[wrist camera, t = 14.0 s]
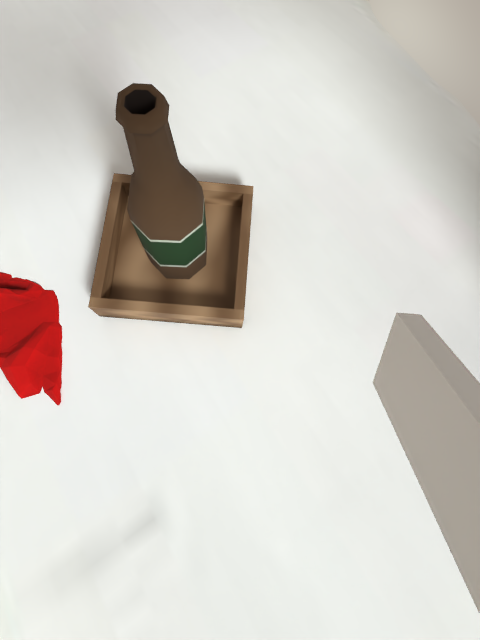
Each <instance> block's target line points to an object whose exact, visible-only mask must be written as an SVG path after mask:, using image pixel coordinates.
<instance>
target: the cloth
mask: <svg viewBox="0 0 480 640" xmlns="http://www.w3.org/2000/svg"><path fill="white" fill-rule="evenodd" d="M61 343H62V326H61V325H60V324H59V304H58V299H57V296H56V294H55V292H54V291H53V290H44V289H43V288H42V287H41V286H40V285H39V284H36V283H34V282H32V281H29V280H27V279H26V280H24V279H21V278H17V277H16V278H12V276H11V275H10V274H6V273H2V272H0V368H1V369H2V371H3V373H4V375H5V376H6V378H7V380H8V381H9V383H10V384H11V386H12V387H13V389H14V390H15V391H16V393H17V394H18V396H19V397H21V398H25V397H29V396H32V395H35V394H39V393H40V391H41V389H42V386H43V389H44V392H45V393H46V394H47V395H48V396H49V397H50V398H51V399H52V400H53V401H54V402H55V403H56V404H57V405H59V404H60V402H61V393H60V389H61V384H62V380H61V372H62V346H61Z"/></svg>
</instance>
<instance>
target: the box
mask: <svg viewBox="0 0 480 640" xmlns="http://www.w3.org/2000/svg"><path fill="white" fill-rule="evenodd" d="M130 181H131V175H126V174H115V173H114V175H113V180H112V186H111V191H110V196H109V201H108V207H107V212H106V217H105V222H104V228H103V233H102V238H101V243H100V249H99V254H98V259H97V264H96V270H95V275H94V280H93V285H92V291H91V296H90V301H89V306H88V307H89V308H90V309H92V310H93V311H94V312H95V313H96V314H98V315H99V316H103V317H115V318H128V319H140V320H152V321H164V322H176V323H189V324H201V325H213V326H225V327H237V328H242V325H243V320H244V307H245V294H246V280H247V266H248V252H249V239H250V225H251V211H252V197H253V186H245V185H234V184H223V183H213V182H202V181H198V182H199V184H200V185H201V186H202V190H203V194H204V203H205V215H206V227H207V258H206V266H204V267H203V268H202V269H201V270H200V271H198V272H197V273H196V274H195V275H194V276H193V277H191V278H190V279H169V278H165V277H164V276H163V274H162V273H161V272H160V271H159V270H158V269H157V268H156V267H155V266H154V265H153V264H152V263H151V261H150V260H149V258H148V256H147V254H146V252H145V250H144V248H143V246H142V243H141V241H140V239H139V237H138V235H137V233H136V231H135V228H134V226H133V224H132V222H131V220H130V217H129V213H128V210H127V206H128V198H129V189H130Z"/></svg>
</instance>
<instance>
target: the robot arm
mask: <svg viewBox="0 0 480 640" xmlns="http://www.w3.org/2000/svg"><path fill="white" fill-rule="evenodd" d="M373 384H374V386H375V388H376V391H377V393H378V395H379V397H380V399H381V401H382V404H383V406H384V408H385V410H386V412H387V414H388V417H389V419H390V421H391V423H392V425H393V427H394V430H395V432H396V434H397V436H398V438H399V440H400V443H401V445H402V447H403V449H404V451H405V453H406V456H407V458H408V460H409V462H410V464H411V466H412V469H413V471H414V473H415V475H416V477H417V479H418V482H419V484H420V486H421V488H422V490H423V492H424V495H425V497H426V499H427V501H428V503H429V505H430V508H431V510H432V512H433V514H434V516H435V518H436V521H437V523H438V525H439V527H440V529H441V531H442V534H443V536H444V538H445V540H446V542H447V544H448V547H449V549H450V551H451V553H452V555H453V557H454V560H455V562H456V564H457V566H458V568H459V570H460V573H461V575H462V577H463V579H464V581H465V583H466V586H467V588H468V590H469V592H470V594H471V596H472V599H473V601H474V603H475V605H476V607H477V609H478V612H479V613H480V383H479V382H478V381H477V380H476V378H475V377H474V376H473V375H472V374H471V373H470V371H469V370H468V369H467V368H466V367H465V366H464V364H463V363H462V362H461V361H460V360H459V359H458V357H457V356H456V355H455V354H454V353H453V352H452V350H451V349H450V348H449V347H448V346H447V344H446V343H445V342H444V341H443V340H442V339H441V337H440V336H439V335H438V334H437V333H436V332H435V330H434V329H433V328H432V327H431V326H430V325H429V323H428V322H427V321H426V320H425V319H424V318H423V316H422V315H418V314H406V313H396V316H395V319H394V322H393V325H392V328H391V331H390V333H389V336H388V339H387V342H386V345H385V348H384V351H383V354H382V357H381V360H380V363H379V366H378V369H377V371H376V374H375V377H374V380H373Z"/></svg>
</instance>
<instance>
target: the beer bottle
mask: <svg viewBox="0 0 480 640" xmlns="http://www.w3.org/2000/svg"><path fill="white" fill-rule="evenodd" d="M168 113H169V104H168V102H167V101H166V99H165V97H164V95H162V94H161V93H160V92H159V91H158V90H157V89H156V88H155V87H154V86H153V85H152V84H136V83H133V84H131V85H130V86H128V87H126V88H125V89H123V90H122V91H120V92H119V93H118V97H117V104H116V120H117V121H118V122H119V123H120V124H121V125H122V126H123V128H124V132H125V136H126V140H127V144H128V148H129V152H130V155H131V159H132V163H133V167H134V172H133V174H132V175H131V181H130V189H129V198H128V206H127V210H128V213H129V217H130V220H131V222H132V224H133V226H134V228H135V231H136V233H137V235H138V237H139V239H140V241H141V243H142V246H143V248H144V250H145V252H146V254H147V256H148V258H149V260H150V261H151V263H152V264H153V265H154V266H155V267H156V268H157V269H158V270H159V271H160V272H161V273H162V274H163V276H164V277H165V278H169V279H190V278H191V277H193V276H194V275H195V274H196V273H197V272H198V271H200V270H201V269H202V268H203V267H204V266H206V258H207V227H206V215H205V203H204V194H203V190H202V186H201V185H200V184H199V182H198V181H197V180H196V178H195V177H194V176H193V175H192V174H191V173H190V172H189V171H188V170H187V169H185V168H184V167H183V166H182V165H181V164H180V162H179V160H178V157H177V153H176V149H175V145H174V141H173V138H172V134H171V130H170V126H169V122H168Z"/></svg>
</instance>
